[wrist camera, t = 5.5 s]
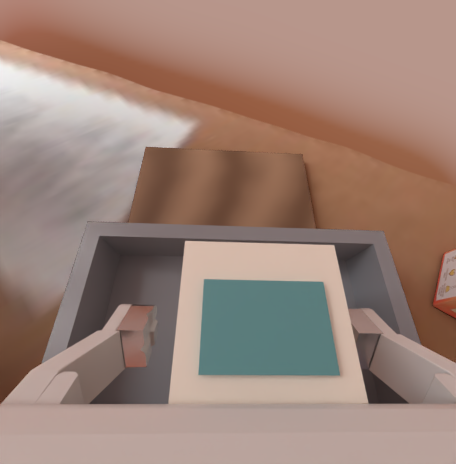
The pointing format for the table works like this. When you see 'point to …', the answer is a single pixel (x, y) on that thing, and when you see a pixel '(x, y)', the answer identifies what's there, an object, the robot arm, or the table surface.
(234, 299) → the box
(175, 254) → the parts bin
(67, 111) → the table surface
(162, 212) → the walnut board
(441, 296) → the cracker box
